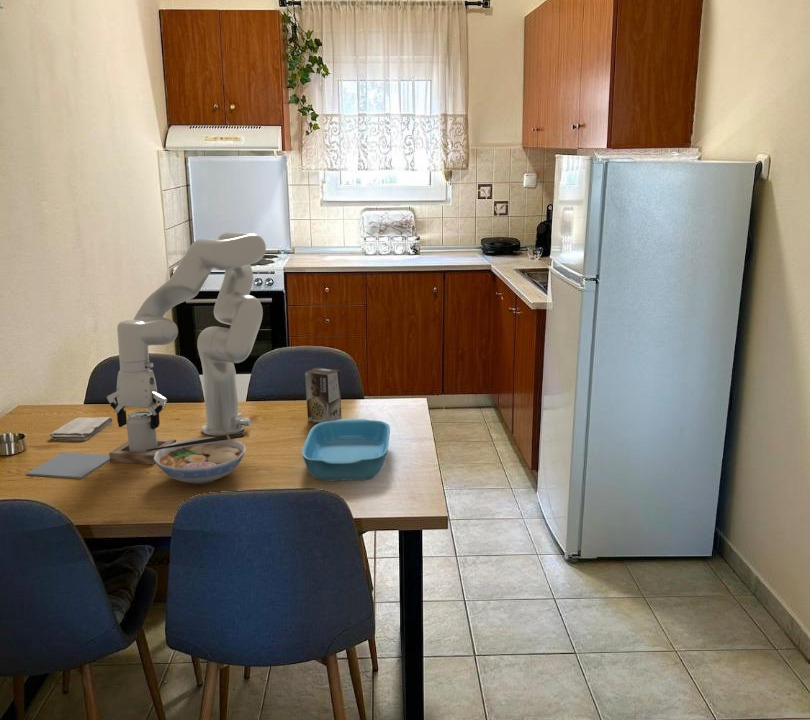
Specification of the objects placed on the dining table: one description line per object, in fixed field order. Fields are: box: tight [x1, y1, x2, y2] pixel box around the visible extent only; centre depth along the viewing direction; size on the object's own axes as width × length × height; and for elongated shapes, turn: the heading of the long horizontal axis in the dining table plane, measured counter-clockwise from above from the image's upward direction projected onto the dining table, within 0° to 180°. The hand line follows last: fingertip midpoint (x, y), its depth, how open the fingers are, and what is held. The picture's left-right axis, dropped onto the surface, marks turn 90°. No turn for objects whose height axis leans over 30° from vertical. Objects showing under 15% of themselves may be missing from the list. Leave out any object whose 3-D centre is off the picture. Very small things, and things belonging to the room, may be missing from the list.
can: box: [126, 410, 158, 453], centre depth 221 cm, size 8×8×12 cm
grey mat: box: [26, 451, 110, 480], centre depth 215 cm, size 16×16×1 cm
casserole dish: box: [301, 418, 391, 482], centre depth 214 cm, size 37×22×7 cm, turn 179°
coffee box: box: [304, 367, 343, 423], centre depth 248 cm, size 9×6×16 cm
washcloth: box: [49, 416, 113, 442], centre depth 243 cm, size 12×18×3 cm, turn 176°
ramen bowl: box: [146, 432, 246, 485], centre depth 203 cm, size 25×23×8 cm
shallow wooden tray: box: [108, 438, 177, 465], centre depth 222 cm, size 13×13×2 cm
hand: (138, 426), depth 220 cm, fingers open, 9 cm apart
